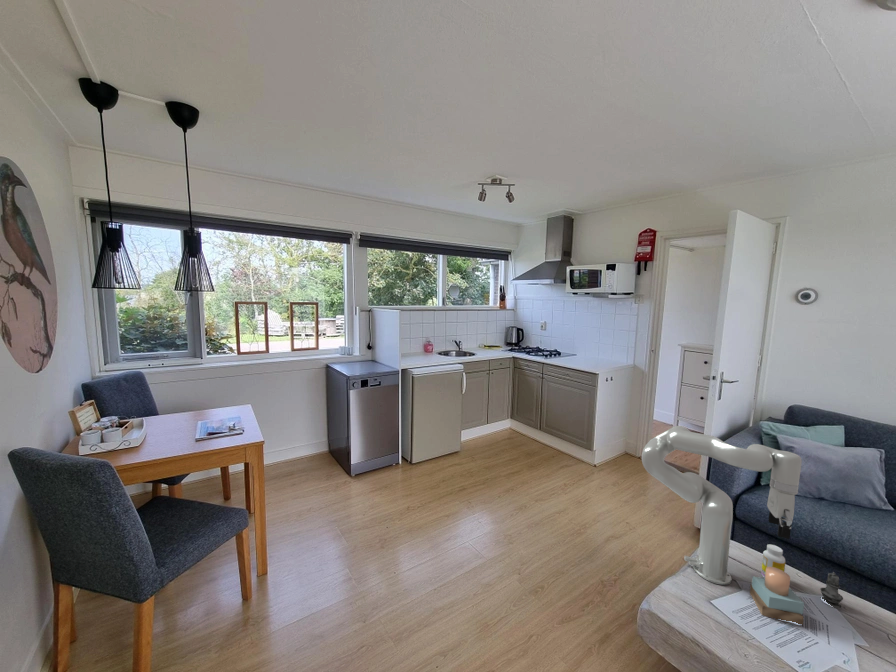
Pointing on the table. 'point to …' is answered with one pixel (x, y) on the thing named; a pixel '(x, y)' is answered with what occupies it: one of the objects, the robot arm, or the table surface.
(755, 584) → the tower top block
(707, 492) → the robot arm
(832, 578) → the dark grey figurine
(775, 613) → the tower base block
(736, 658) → the table surface
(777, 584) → the brown egg
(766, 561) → the supplement bottle
